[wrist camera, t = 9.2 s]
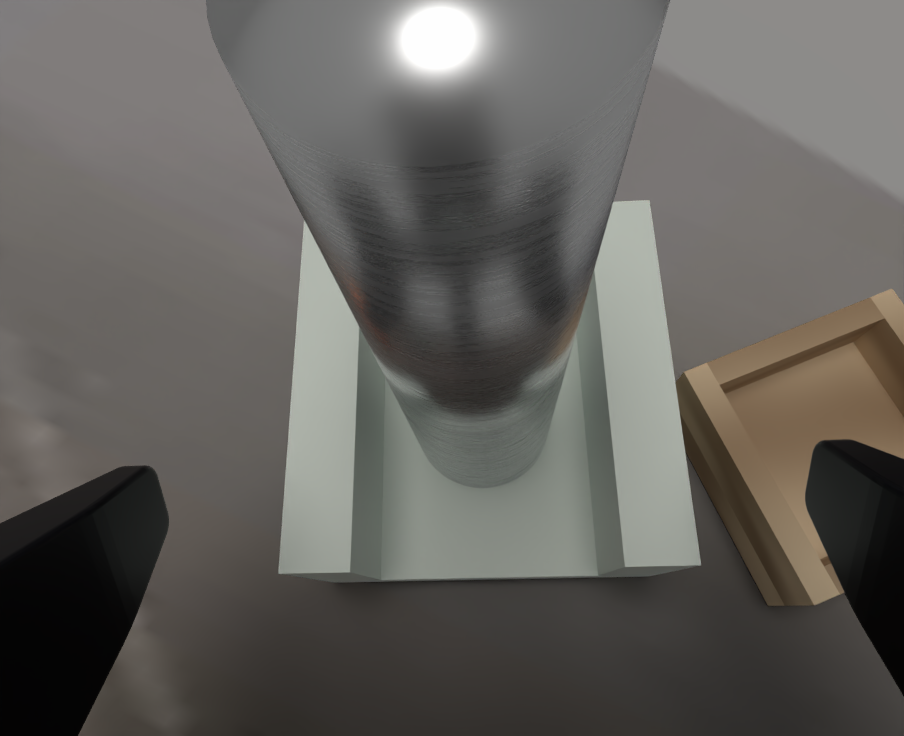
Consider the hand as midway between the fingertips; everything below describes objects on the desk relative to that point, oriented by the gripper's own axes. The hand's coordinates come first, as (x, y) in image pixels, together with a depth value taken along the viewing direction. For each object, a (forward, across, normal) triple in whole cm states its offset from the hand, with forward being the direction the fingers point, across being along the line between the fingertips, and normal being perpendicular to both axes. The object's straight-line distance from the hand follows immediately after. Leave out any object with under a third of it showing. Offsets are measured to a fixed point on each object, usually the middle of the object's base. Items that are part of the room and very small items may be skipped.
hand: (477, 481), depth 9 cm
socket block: (+7, -8, +5) cm, 12 cm away
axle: (+7, 0, +3) cm, 8 cm away
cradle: (+8, 0, +4) cm, 9 cm away
